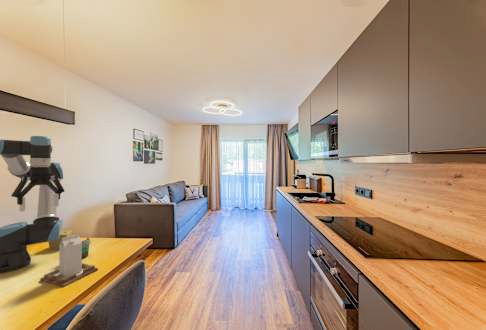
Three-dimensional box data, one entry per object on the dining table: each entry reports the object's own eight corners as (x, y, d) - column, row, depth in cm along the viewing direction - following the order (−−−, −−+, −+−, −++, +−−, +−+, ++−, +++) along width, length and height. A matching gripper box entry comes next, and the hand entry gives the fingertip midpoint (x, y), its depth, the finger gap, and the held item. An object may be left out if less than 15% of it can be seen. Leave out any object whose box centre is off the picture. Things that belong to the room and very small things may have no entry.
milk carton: (59, 273, 104) (59, 236, 104) (76, 268, 110) (76, 232, 110) (64, 278, 100) (64, 239, 100) (81, 271, 106) (81, 235, 106)
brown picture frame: (40, 280, 100) (40, 275, 100) (75, 265, 115) (75, 260, 115) (64, 286, 95) (64, 281, 95) (97, 270, 110) (97, 265, 110)
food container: (76, 262, 118) (76, 245, 118) (67, 261, 119) (68, 244, 119) (95, 253, 130) (95, 238, 130) (87, 253, 132) (87, 237, 132)
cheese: (59, 244, 146) (59, 230, 146) (76, 243, 148) (76, 229, 148) (48, 250, 136) (48, 235, 136) (66, 249, 138) (66, 234, 138)
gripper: (11, 166, 90) (10, 214, 90) (72, 166, 114) (72, 204, 114) (1, 166, 93) (0, 213, 93) (63, 166, 117) (63, 203, 116)
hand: (40, 208), depth 103 cm, fingers open, 13 cm apart
